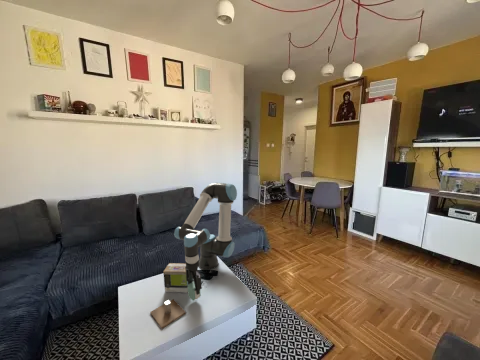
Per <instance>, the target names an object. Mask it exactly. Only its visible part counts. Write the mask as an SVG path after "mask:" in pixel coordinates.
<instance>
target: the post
mask: <svg viewBox="0 0 480 360" xmlns="http://www.w3.org/2000/svg"><path fill="white" fill-rule="evenodd" d="M170 301H171V300H169V299H168V300H166V301H164V303H163V305H164V309H165V313H166V314H169V313H170V312H171V302H170Z"/></svg>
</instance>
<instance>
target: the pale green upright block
mask: <svg viewBox="0 0 480 360" xmlns="http://www.w3.org/2000/svg"><path fill="white" fill-rule="evenodd" d="M199 292H200V293H199V294H200V297H201V296H202V295H201V289H200V290H199ZM187 296H188V297H189V299H191V300H192V301H193V302H194V301H195V300H196V299H195V285H194V281H193V282H192V283H190V284H188V293H187Z"/></svg>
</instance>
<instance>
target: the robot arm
mask: <svg viewBox="0 0 480 360" xmlns="http://www.w3.org/2000/svg"><path fill="white" fill-rule="evenodd" d="M199 196H200V197H199V199H198V200H197V202H196V203H195V205H194V206H193V208H192V209H191V211H190V213H189V215H188V216H187V218H186V219H185V221H184V223H182V226H177V227H176V228H175V229H174V234H173V235H174V238H176V239H178V240H182V241H183V247H184V258H185V263H186V266H185V269H186V281H188V284H190V283H192V282H194V285H195V300H198V299H199V298H201V296H200V294H201V290H202V289H203V287H202V286H203V285H202V274H201V273H199V270H198V269H199V268H200V269H202V270H206V269H208V270H213V269H214V268H216V267H218V265H219V259H218V257H217V256H219V257H223V258H229V257H231V256H232V254H233V253H234V250H235V247H236V246H235V245H236V244H235V242H234V241H233V237H232V236H231V223H232V222H231V221H232V219H231V217H232V205H233V203H234V202H235V201H236V200H237V196H238V190H237V188H236V185H235V184H233V183H232V184H231V183H224V182H213V183H210V184H208V185H207V186H206V187H204V189H203V190H202V191H201V193H200V194H199ZM214 199H217V203H218V204H219V209H218V210H219V211H218V212H219V214H218V235H217V236H216V235H215V234H211V233H210V231H209V229H207V228H202V229H200V230H198V229H195V228H196V226H197V224H198V222H200V219H201V218H202V216H203V214H204V212H205V211H206V209H207V207H208V205H209V203H210V202H212V201H213V200H214ZM199 249H200V252H199ZM199 253H200V257H199ZM199 290H200V292H199ZM199 293H200V294H199Z"/></svg>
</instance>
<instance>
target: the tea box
mask: <svg viewBox="0 0 480 360" xmlns="http://www.w3.org/2000/svg"><path fill="white" fill-rule="evenodd" d="M185 266H186V262H185V263H182V262H179V263H178V262H177V263H173V262H169V263H168V264H167V265H166V267H165V269H164V270H163V285H164V286H163V287H164V292H165V293H184V294H185V293H187V294H188V281H186V269H185Z"/></svg>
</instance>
